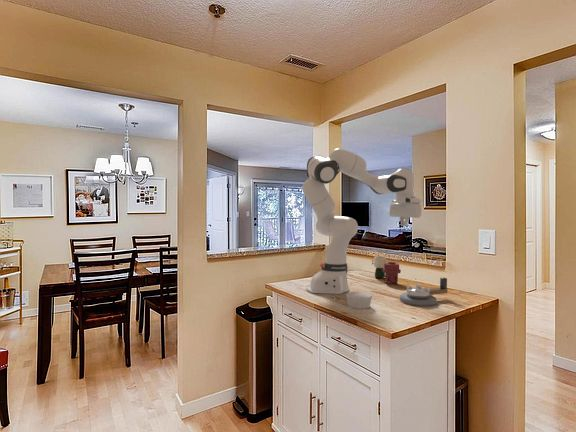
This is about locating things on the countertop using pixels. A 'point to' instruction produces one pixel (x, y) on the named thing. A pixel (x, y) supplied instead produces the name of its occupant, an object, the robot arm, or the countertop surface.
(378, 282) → the countertop surface
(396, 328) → the countertop surface
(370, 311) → the countertop surface
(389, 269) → the mechanical component
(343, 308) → the countertop surface
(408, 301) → the base
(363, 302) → the ramekin
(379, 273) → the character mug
